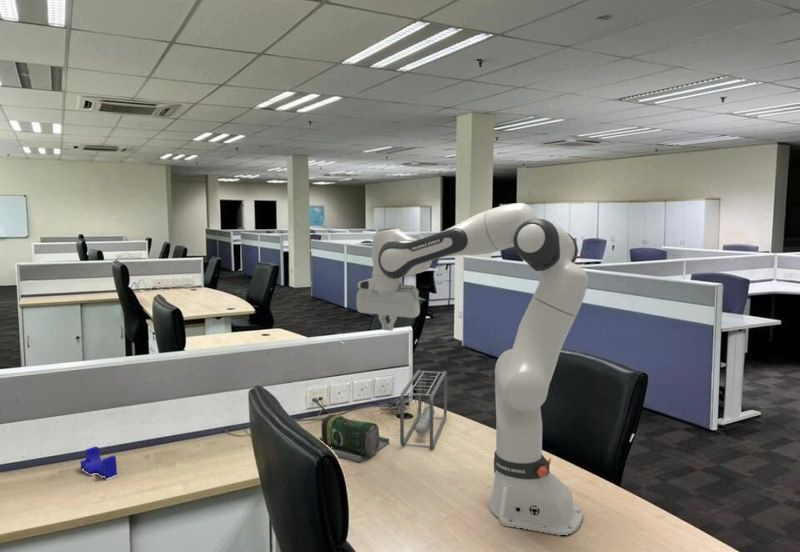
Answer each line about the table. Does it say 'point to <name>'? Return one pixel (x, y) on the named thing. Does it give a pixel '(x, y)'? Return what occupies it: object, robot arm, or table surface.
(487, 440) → the table surface
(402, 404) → the newton's cradle
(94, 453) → the cable clip
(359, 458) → the shallow gray tray
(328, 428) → the coffee jar
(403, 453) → the table surface
